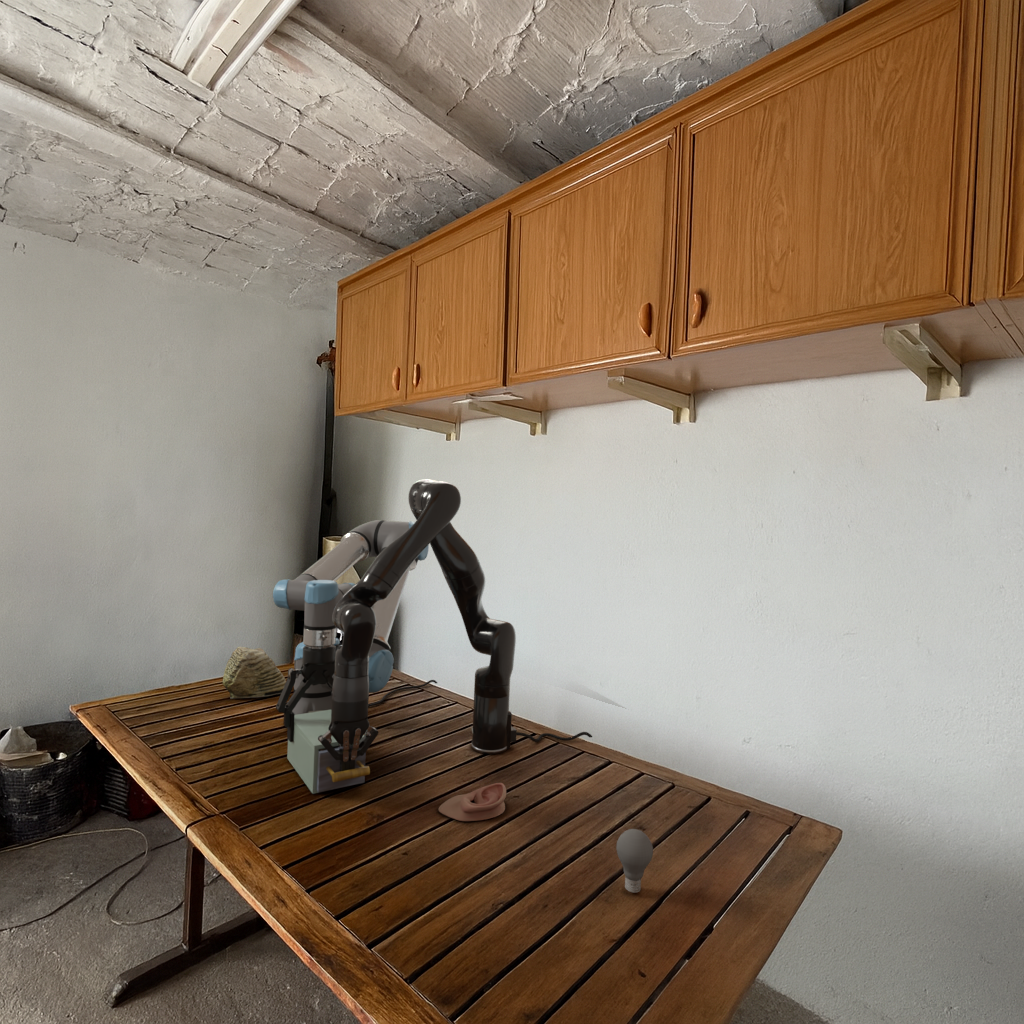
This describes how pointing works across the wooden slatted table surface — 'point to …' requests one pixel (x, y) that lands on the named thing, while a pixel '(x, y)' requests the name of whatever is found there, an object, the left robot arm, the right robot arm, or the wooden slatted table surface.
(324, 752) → the drawer
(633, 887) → the light bulb
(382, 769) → the wooden slatted table surface
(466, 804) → the anatomical model
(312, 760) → the cabinet
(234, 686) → the fossil
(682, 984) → the wooden slatted table surface
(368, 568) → the right robot arm
